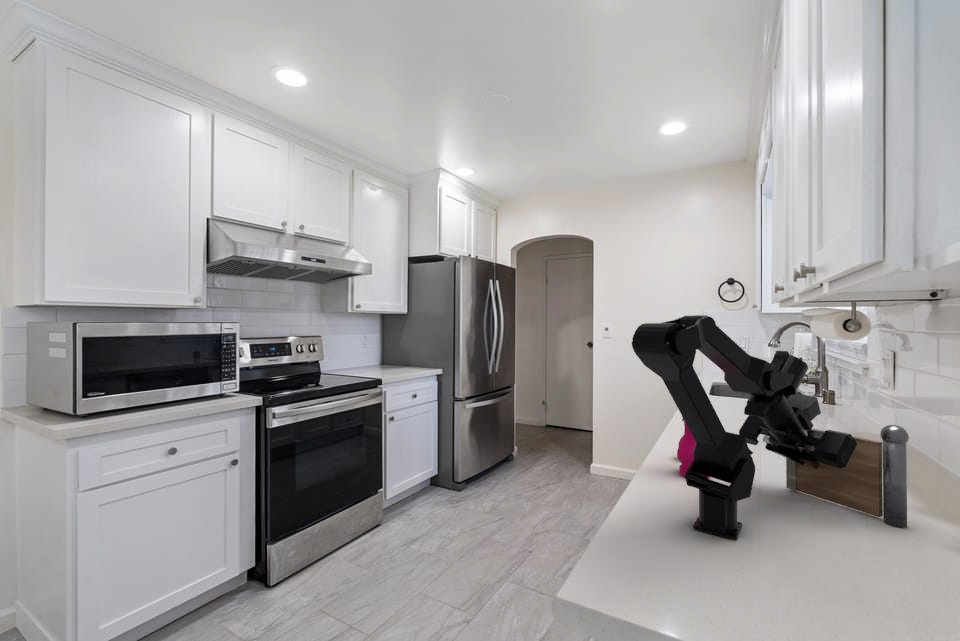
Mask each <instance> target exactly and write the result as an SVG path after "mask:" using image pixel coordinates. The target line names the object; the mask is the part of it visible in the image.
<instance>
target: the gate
mask: <svg viewBox="0 0 960 641" xmlns="http://www.w3.org/2000/svg"><path fill="white" fill-rule="evenodd" d="M811 430H813V431H818V432H822V433H823V434H824V432H825V430H822V429H817V428H812V429H811ZM807 431H809V430H807ZM853 438H854V439H855V441H856V443H857V446H856V448H855V449H854V451H853V453H852V455H851V457H850V459H849V461H848V463H847V465H846V467H844V468H837V467H833V466H829V465H826V464H823V463H821V462H820V461H819V466H818V468H817V469H815V468H813V467H811V466H810V465H808V464H807V463H804V465H801V464H799V463H796V462H794V461H792V460H790V459H788V458H786V457H785V458H786V461H785V462H786V464H785V466H786V469H785V470H786V475H785V476H786V477H785V478H786V482H785V485H786V489H789V490H792V491H794V492H796V491H797V492H799V493H803V494H805V495H808V496H812V497H814V498H815V497H816V498H818V499H822V500H825V501H827V502H830V503H834V504H837V505H839V506H843V507H845V508H846V507H847V508H849V509H853V510H856V511H859V512H861V513H864V514H869V515H871V516H874V517H877V518H881V517H883V441H879V440H872V439H866V438H863V437H857V436H853ZM799 450H800V451H801V452H802V450H803V449H802V448H799Z"/></svg>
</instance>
